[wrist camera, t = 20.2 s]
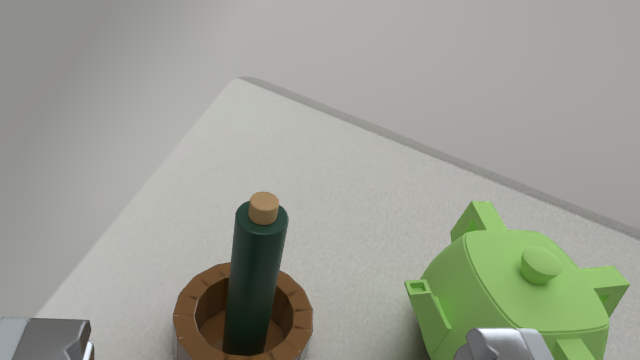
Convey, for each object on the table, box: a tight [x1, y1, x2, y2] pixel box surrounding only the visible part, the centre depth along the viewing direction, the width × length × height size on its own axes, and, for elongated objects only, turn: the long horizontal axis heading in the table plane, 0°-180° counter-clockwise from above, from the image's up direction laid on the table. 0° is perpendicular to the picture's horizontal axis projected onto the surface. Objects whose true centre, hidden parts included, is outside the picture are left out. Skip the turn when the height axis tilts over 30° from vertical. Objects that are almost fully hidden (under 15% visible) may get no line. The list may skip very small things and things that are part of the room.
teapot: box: [404, 201, 630, 360], centre depth 31 cm, size 12×11×10 cm
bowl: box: [173, 262, 313, 360], centre depth 30 cm, size 8×8×4 cm
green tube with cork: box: [222, 192, 289, 357], centre depth 27 cm, size 3×3×12 cm
